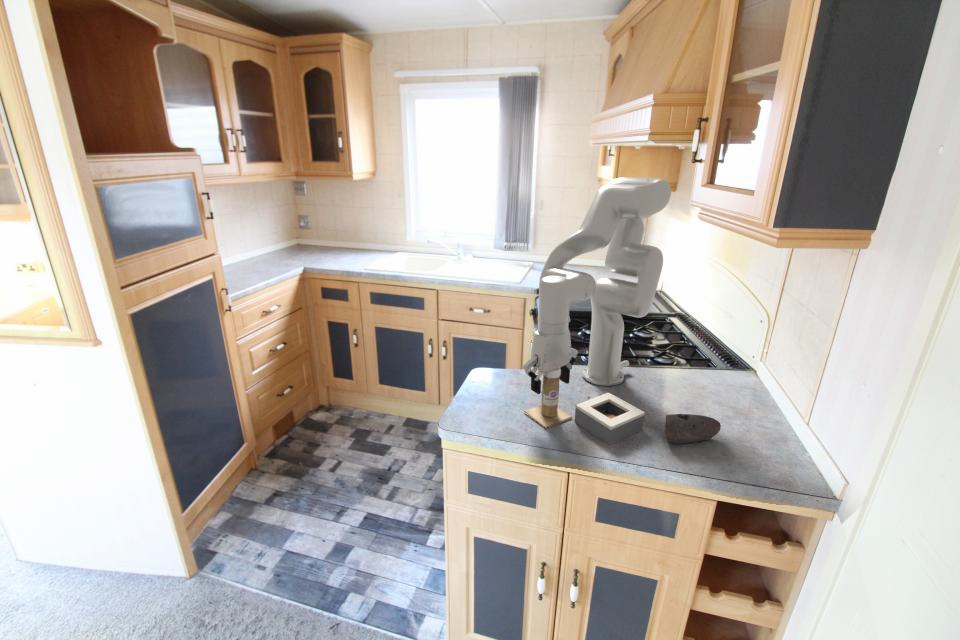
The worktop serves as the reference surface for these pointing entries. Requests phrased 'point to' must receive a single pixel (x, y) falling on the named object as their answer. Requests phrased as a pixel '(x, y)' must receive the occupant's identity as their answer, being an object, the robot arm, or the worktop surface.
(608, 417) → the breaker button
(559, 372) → the sprinkles bottle
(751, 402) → the worktop surface
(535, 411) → the coaster
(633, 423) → the grey square open box
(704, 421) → the perforated stone tool
